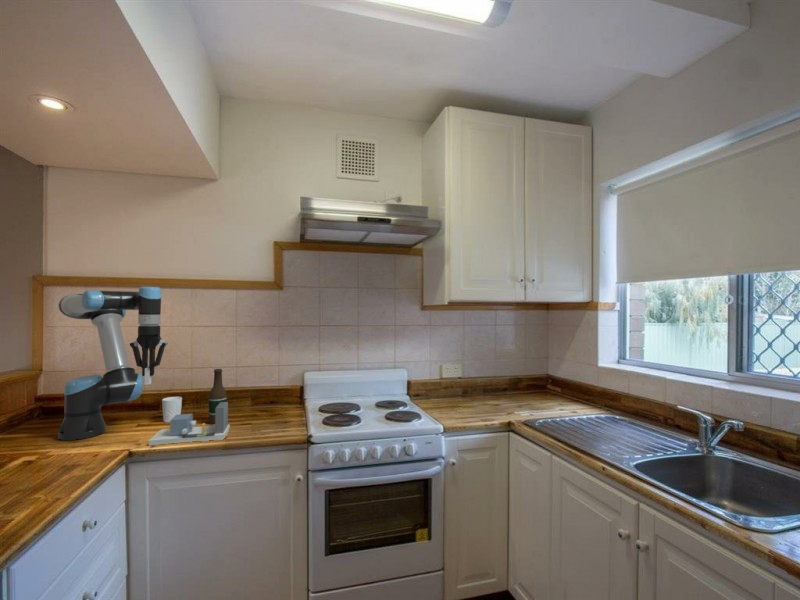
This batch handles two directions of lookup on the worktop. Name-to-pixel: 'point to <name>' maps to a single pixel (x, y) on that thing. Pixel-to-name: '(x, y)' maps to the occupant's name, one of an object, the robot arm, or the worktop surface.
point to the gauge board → (198, 430)
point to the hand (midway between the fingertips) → (147, 383)
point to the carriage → (181, 424)
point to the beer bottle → (216, 395)
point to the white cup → (171, 407)
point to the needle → (203, 428)
